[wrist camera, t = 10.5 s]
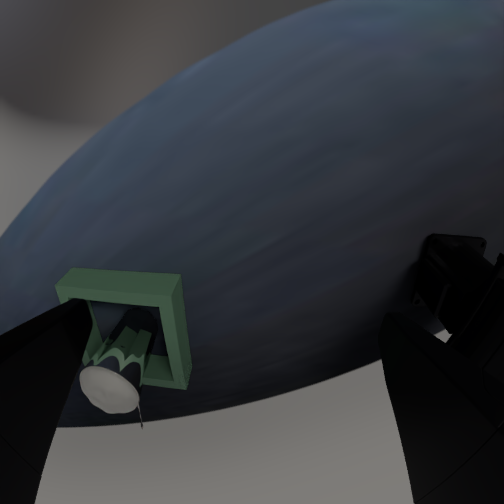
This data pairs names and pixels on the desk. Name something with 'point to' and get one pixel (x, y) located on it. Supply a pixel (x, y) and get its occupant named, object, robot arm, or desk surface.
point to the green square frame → (138, 293)
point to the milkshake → (121, 364)
